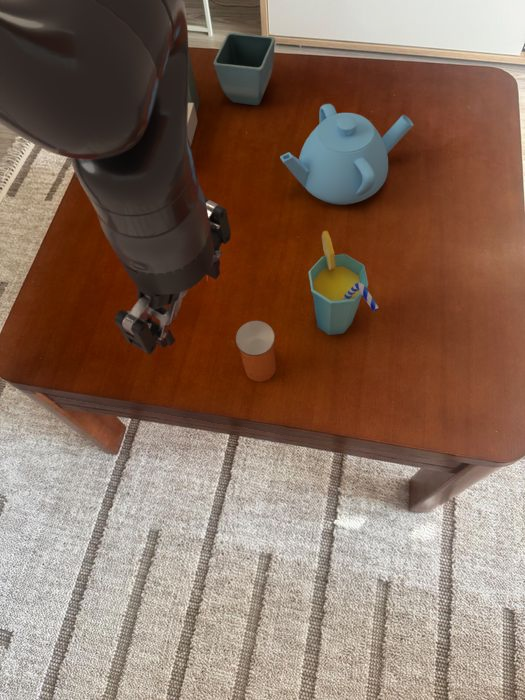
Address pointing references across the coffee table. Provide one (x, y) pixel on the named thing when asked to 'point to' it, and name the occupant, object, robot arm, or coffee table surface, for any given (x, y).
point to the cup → (337, 289)
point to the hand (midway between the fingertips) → (187, 305)
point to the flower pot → (245, 66)
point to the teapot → (345, 157)
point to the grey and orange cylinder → (257, 350)
